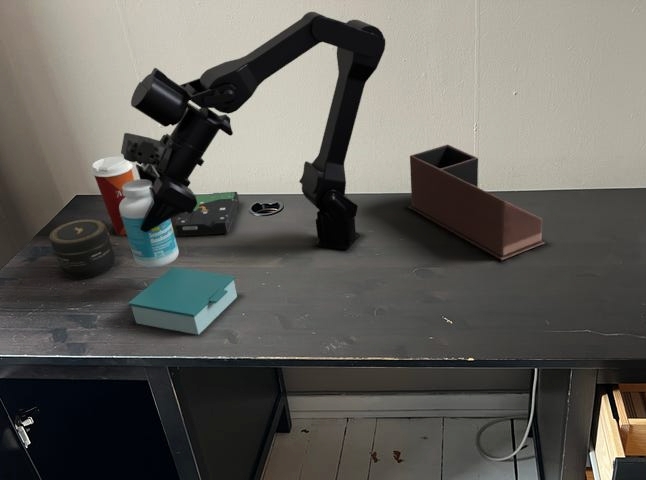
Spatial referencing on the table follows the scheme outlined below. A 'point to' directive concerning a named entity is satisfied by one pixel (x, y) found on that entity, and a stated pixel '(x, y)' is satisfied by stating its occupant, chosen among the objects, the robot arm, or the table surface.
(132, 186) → the pill bottle
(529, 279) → the table surface
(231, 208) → the disk drive
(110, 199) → the paper cup
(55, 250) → the jar
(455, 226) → the desk organizer
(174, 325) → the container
